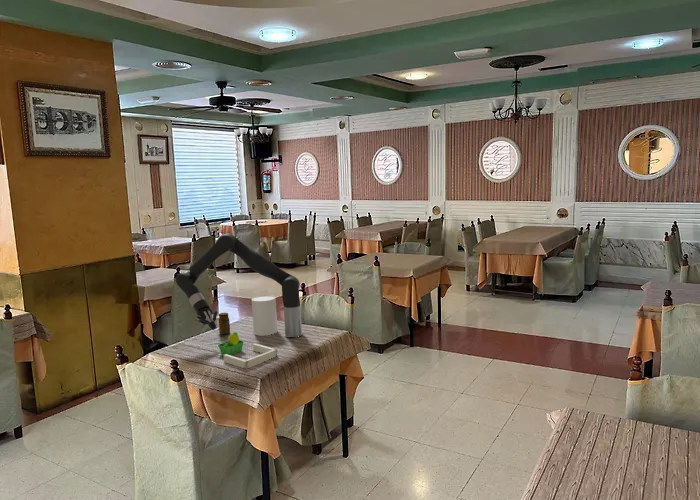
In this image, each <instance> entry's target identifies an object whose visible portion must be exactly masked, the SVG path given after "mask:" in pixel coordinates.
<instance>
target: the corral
mask: <svg viewBox="0 0 700 500" xmlns="http://www.w3.org/2000/svg"><path fill="white" fill-rule="evenodd" d="M252 346H253V351H254V352H257V353H259V352H260V354H259V355H256V356H252V357H251V358H248V359H243V358H241V357H236V356H234V355H228V354H225V355H223V362H224V363H226V364H229V365H232V366H235V367H238V368H242V369H244V370H247V369H249V368H251V367H255V366H258V365H259V364H262V363H264V361H265V362H267V361H269V359H270V360H271V358H272V359H274V358H277V357H279V356H278V349H276V348H274V347H269V346H267V345H262V344H260V343H252ZM276 356H277V357H276ZM273 357H274V358H273Z"/></svg>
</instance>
